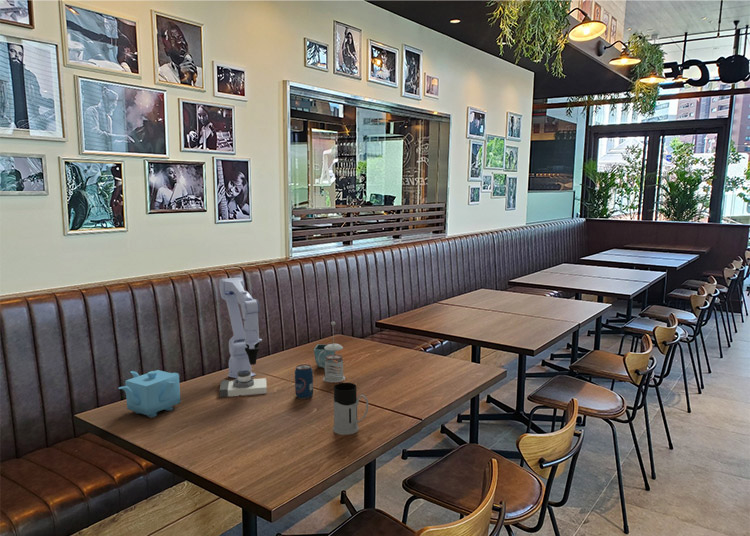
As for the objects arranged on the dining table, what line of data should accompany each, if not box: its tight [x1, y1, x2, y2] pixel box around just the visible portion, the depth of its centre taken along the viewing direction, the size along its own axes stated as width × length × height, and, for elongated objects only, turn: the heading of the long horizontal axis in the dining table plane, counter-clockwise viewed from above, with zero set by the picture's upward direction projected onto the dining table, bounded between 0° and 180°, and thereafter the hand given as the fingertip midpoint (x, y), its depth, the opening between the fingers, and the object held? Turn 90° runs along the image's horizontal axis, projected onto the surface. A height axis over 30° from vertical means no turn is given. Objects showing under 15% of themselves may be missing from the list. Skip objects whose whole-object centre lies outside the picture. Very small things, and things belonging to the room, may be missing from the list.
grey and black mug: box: [332, 382, 369, 436], centre depth 180 cm, size 9×14×15 cm, turn 51°
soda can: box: [294, 363, 314, 400], centre depth 212 cm, size 7×7×12 cm
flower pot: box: [313, 343, 336, 368], centre depth 249 cm, size 9×9×9 cm
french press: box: [318, 321, 346, 383], centre depth 231 cm, size 10×12×25 cm
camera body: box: [219, 377, 268, 398], centre depth 219 cm, size 18×11×4 cm, turn 102°
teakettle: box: [117, 369, 182, 418], centre depth 199 cm, size 19×19×15 cm
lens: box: [238, 370, 252, 384], centre depth 219 cm, size 5×5×5 cm
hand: (253, 361), depth 223 cm, fingers open, 7 cm apart
